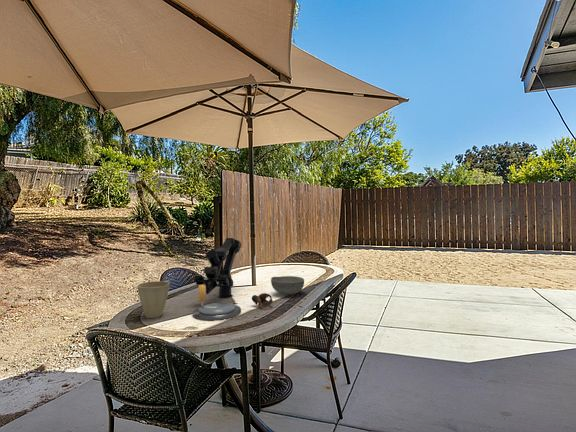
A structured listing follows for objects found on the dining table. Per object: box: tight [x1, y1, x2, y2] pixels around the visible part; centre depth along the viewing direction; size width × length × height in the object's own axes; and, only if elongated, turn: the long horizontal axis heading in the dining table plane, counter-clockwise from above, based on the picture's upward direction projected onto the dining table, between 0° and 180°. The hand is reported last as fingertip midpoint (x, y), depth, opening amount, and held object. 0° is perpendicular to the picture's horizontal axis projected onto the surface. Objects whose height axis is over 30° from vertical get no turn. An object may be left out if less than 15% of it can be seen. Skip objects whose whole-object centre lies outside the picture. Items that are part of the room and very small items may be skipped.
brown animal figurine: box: [251, 292, 274, 310], centre depth 188 cm, size 12×10×8 cm
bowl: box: [270, 275, 305, 296], centre depth 214 cm, size 20×20×10 cm
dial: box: [198, 284, 235, 316], centre depth 178 cm, size 19×18×12 cm
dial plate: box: [192, 304, 242, 322], centre depth 178 cm, size 24×24×2 cm
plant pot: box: [136, 280, 170, 319], centre depth 175 cm, size 15×15×16 cm
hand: (207, 293), depth 185 cm, fingers closed
